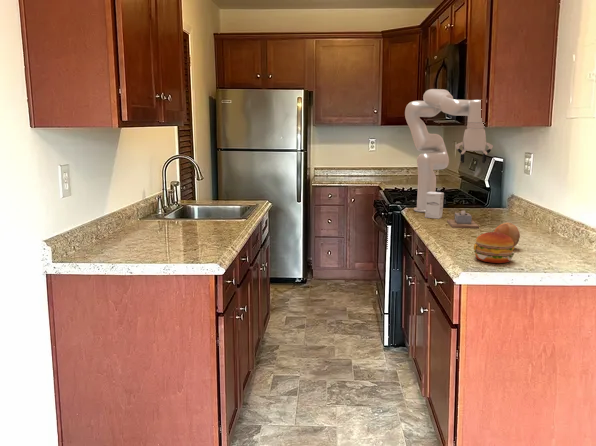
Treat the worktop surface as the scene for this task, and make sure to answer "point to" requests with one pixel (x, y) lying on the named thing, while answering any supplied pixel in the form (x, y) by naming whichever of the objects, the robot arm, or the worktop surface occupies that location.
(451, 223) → the keeper
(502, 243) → the burger
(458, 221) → the link
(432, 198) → the supplement box
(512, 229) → the onion
